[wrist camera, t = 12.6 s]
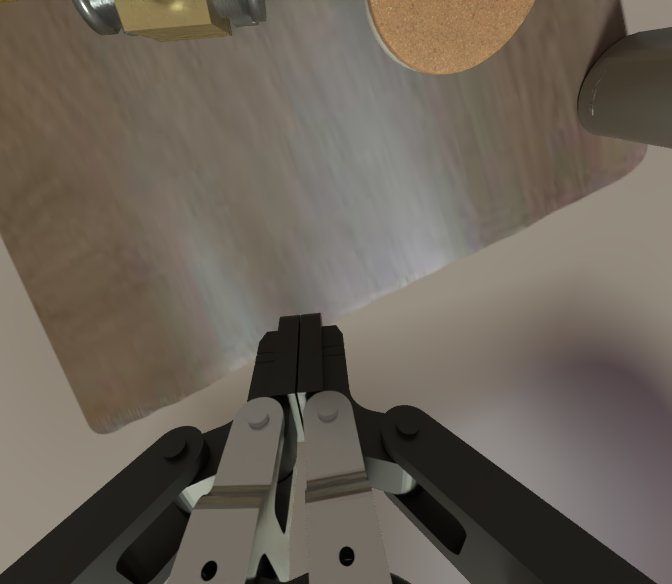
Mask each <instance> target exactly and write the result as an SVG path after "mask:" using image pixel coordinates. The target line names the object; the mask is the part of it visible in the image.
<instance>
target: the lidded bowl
mask: <svg viewBox="0 0 672 584" xmlns="http://www.w3.org/2000/svg"><path fill="white" fill-rule="evenodd" d="M534 1H535V0H363V3H364V8H365V13H366V17H367V20H368V23H369V26H370V29H371V31H372V33H373V35H374V37H375V39H376V41H377V42H378V43H379V45H380V46H381V48H382V49H383V50H384V51H385V52H386V53H387V54H388V55H389V56H390V57H391V58H392V59H393V60H395V61H396V62H398V63H399V64H401V65H402V66H404V67H407V68H409V69H411V70H414V71H419V72H424V73H429V74H451V73H456V72H461V71H464V70H466V69H469V68H472V67H474V66H476V65H478V64H479V63H481V62H483V61H485V60H486V59H488V58H489V57H490V56H491V55H493V54H494V53H495V52H497V51H498V50H499V49H500V48H501V47H502V46H503V45H504V44H505V43H506V42H507V41H508V40H509V39H510V38H511V37H512V35H513V34H514V33H515V31H516V30H517V29H518V28H519V26H520V25H521V24H522V22H523V21H524V19H525V17H526V16H527V14H528V13H529V11H530V9H531V7H532V5H533V3H534Z"/></svg>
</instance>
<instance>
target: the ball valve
mask: <svg viewBox="0 0 672 584" xmlns="http://www.w3.org/2000/svg"><path fill="white" fill-rule="evenodd" d="M72 2H73V4H74V6H75V7H76V9H77V11H78V12H79V14H80V15H81V16H82V18H83V19H84V20H85V22H86V23H87V24H88V25H89V26H90V27H91V28H92V29H93V30H94V31H95V32H96V33H98V34H100V35H112V34H118V33H119V31H120V28H121V27H122V28H123V31H124V34H127V35H130V36H137V35H140V36H144V37H147V38H151V39H155V40H158V41H162V42H166V41H178V40H189V39H201V38H212V37H224V36H232V34H231V29H230V24H229V19H228V18H232V19H233V24H234V25H235V26H236V27H241V26H253V25H258V22H262V21H266V6H265V0H72Z"/></svg>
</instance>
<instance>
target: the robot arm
mask: <svg viewBox="0 0 672 584" xmlns="http://www.w3.org/2000/svg"><path fill="white" fill-rule="evenodd" d="M578 114H579V119H580V121H581V123H582V125H583V127H584V128H586V129H587V130H588V131H589V132H591V133H593V134H596V135H602V136H607V137H612V138H618V139H623V140H627V141H633V142H638V143H644V144H649V145H655V146H660V147H666V148H671V149H672V27H669V28H663V29H657V30H650V31H644V32H638V33H635V34H632V35H629V36H627V37H625V38H623V39H621V40H619V41H618V42H616V43H615V44H614V45H613V46H611V47H610V48H609V49H608V50H607V51H606V52H605V53H604V54H603V55H602V56H601V57H600V58H599V59H598V60H597V62H596V63H595V64H594V66H593V67H592V68H591V70H590V71H589V73H588V75H587V77H586V79H585V81H584V83H583V86H582V88H581V91H580V95H579V100H578ZM301 441H304V443H305V461H306V476H307V488H306V491H305V509H306V529H307V549H308V569H309V572H308V573H306V574H304V575H302V576H300V577H297V578H295V579H293V580H291V581H289V570H290V549H289V535H290V525H291V517H292V508H293V499H294V490H295V481H296V472H297V461H296V458H297V442H301ZM371 488H375V489H379V490H383V491H384V493H385V494H386V496H387V497H388V498H389V499H390V500H391V501H392V502H393V503H394V504H395V505H396V506H397V507H398V508H399V509H400V510H401V511H402V513H404V515H405V516H406V517H407V518H408V519H409V520H410V521H411V522H412V523H413V524H414V525H415V526H416V527H417V528H418V529H419V530H420V531H421V532H422V533H423V534H424V535H425V536H426V537H427V538H428V539H429V540H430V542H432V544H433V545H434V546H435V547H436V548H437V549H438V550H439V551H440V552H441V553H442V554H443V555H444V556H445V557H446V558H447V559H448V560H449V561H450V562H451V563H452V564H453V565H454V566H455V567H456V568H457V570H458V571H459V572H460V573H461V574H462V575H463V576H464V577H465V578H466V579H467V580H468V581H469V582H470V583H471V584H657V583H655V582H654V581H653V580H651V579H650V578H649V577H647V576H646V575H644V574H643V573H642V572H640V571H639V570H638V569H636V568H635V567H634V566H632V565H631V564H630V563H628V562H627V561H626V560H624V559H623V558H621V557H620V556H619V555H617V554H616V553H615V552H613V551H612V550H610V549H609V548H608V547H607V546H605V545H604V544H602V543H601V542H600V541H598V540H597V539H596V538H594V537H593V536H592V535H590V534H588V532H586V531H585V530H583V529H582V528H581V527H579V526H578V525H577V524H575V523H574V522H573V521H571V520H570V519H568V518H567V517H566V516H564V515H563V514H562V513H560V512H559V511H558V510H556V509H555V508H553V507H552V506H551V505H550V504H548V503H547V502H545V501H544V500H543V499H541V498H540V497H538V496H537V495H536V494H535V493H533V492H532V491H531V490H529V489H528V488H526V487H525V486H524V485H522V484H521V483H520V482H518V481H517V480H516V479H514V478H513V477H511V476H510V475H509V474H507V473H506V472H505V471H503V470H502V469H501V468H499V467H498V466H497V465H495V464H494V463H493V462H491V461H490V460H488V459H487V458H486V457H484V456H483V455H482V454H480V453H479V452H478V451H476V450H475V449H474V448H472V447H471V446H469V445H468V444H467V443H465V442H464V441H463V440H461V439H460V438H459V437H457V436H456V435H454V434H453V433H452V432H450V431H449V430H448V429H446V428H445V427H444V426H442V425H441V424H440V423H438V422H437V421H436V420H434V419H433V418H431V417H430V416H429V415H427V414H426V413H425V412H423V411H422V410H420V409H418V408H416V407H413V406H408V405H401V406H396V407H393V408H391V409H390V410H388V411H387V412H386V413H380V412H376V411H371V410H367V409H365V408H363V407H361V406H360V405H359V404H357V403H356V402H355V401H354V400H353V398H352V397H351V394H350V390H349V384H348V375H347V367H346V358H345V349H344V342H343V334H342V333H341V331H340V330H339V329H338V327H337V326H336V325H334V326H333V325H332V326H322V318H321V313H314V314H304V315H301V316H300V315H294V316H284V317H280V320H279V327H278V331H271V332H267V333H266V334H265V335H264V337H263V338H262V339H261V341H260V342H259V346H258V351H257V356H256V361H255V366H254V371H253V376H252V381H251V385H250V390H249V395H248V400H247V403H246V404H244V405H243V406H242V407H241V408H240V409H239V410H238V412H237V413H236V415H235V417H234V420H232V421H231V422H229V423H228V424H226V425H224V426H221V427H219V428H216V429H213V430H211V431H208V432H206V433H203V434H202V433H201V431H200V430H198V429H197V428H195V427H192V426H182V427H178V428H175V429H173V430H171V431H169V432H167V433H166V434H164V435H163V436H162V437H161V438H159V439H158V440H157V441H156V442H155V443H154V444H153V445H151V446H150V447H149V448H148V449H147V450H146V451H144V452H143V453H142V454H141V455H140V456H138V457H137V458H136V459H135V460H134V461H133V462H131V463H130V464H129V465H128V466H127V467H126V468H124V469H123V470H122V471H121V472H120V473H119V474H117V475H116V476H115V477H114V478H113V479H112V480H110V481H109V482H108V483H107V484H106V485H105V486H103V487H102V488H101V489H100V490H99V491H97V492H96V493H95V494H94V495H93V496H92V497H90V498H89V499H88V500H87V501H86V502H85V503H83V504H82V505H81V506H80V507H79V508H78V509H76V510H75V511H74V512H73V513H72V514H71V515H70V516H68V517H67V518H66V519H65V520H64V521H63V522H61V523H60V524H59V525H58V526H57V527H55V528H54V529H53V530H52V531H51V532H50V533H48V534H47V535H46V536H45V537H44V538H43V539H41V540H40V541H39V542H38V543H37V544H36V545H34V546H33V547H32V548H31V549H30V550H29V551H27V552H26V553H25V554H24V555H23V556H22V557H20V558H19V559H18V560H17V561H16V562H15V563H13V564H12V565H11V566H10V567H9V568H7V569H6V570H5V571H4V572H3V573H2V574H0V584H163V583H164V582H165V581H166V580H167V579H168V577H169V579H168V582H167V584H411V583H409V582H408V581H406V580H404V579H403V578H401V577H399V576H397V575H395V574H392V573H390V572H389V567H388V562H387V558H386V553H385V548H384V544H383V539H382V535H381V530H380V525H379V521H378V516H377V512H376V507H375V502H374V498H373V493H372V489H371Z"/></svg>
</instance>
